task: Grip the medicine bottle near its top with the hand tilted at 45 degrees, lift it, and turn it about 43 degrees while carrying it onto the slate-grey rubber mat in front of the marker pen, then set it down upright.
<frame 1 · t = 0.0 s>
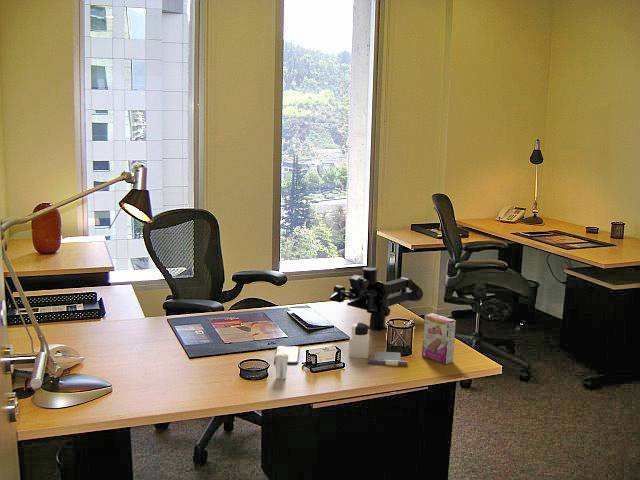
hand: (338, 301, 275), 17 cm above the table, tool horizontal, fingers open, 9 cm apart
phone case: (287, 358, 261), on the table
medicine bottle: (358, 355, 265), on the table
marker pen: (387, 364, 256), on the table
candy bar box: (437, 360, 262), on the table
slate mat: (387, 357, 263), on the table
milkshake: (279, 378, 241), on the table
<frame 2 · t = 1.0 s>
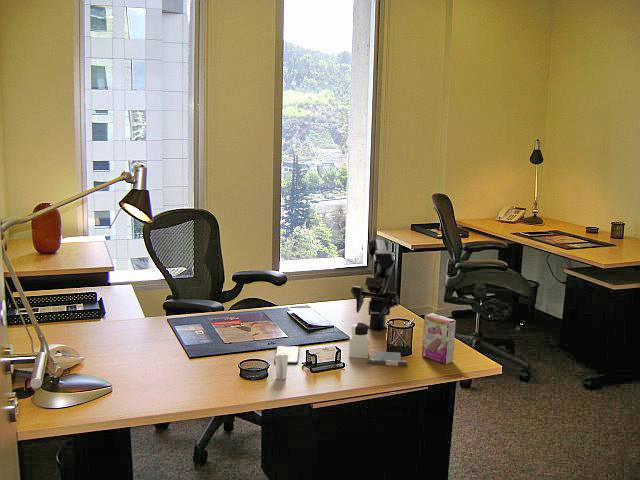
hand: (368, 314, 269), 14 cm above the table, tool tilted 45°, fingers open, 9 cm apart
nothing on the table moved.
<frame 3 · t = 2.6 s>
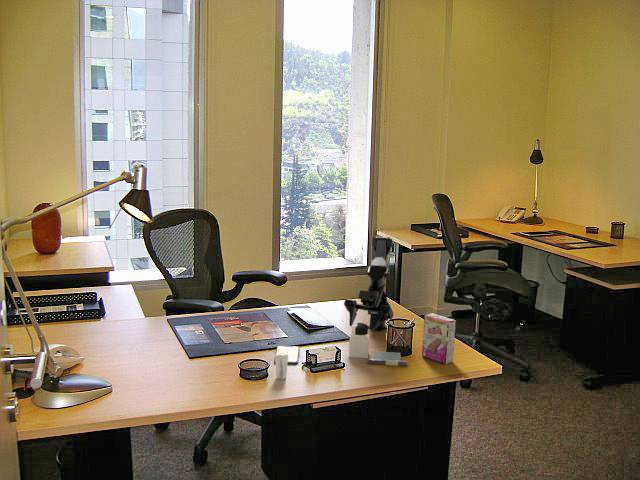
hand: (361, 328, 264), 10 cm above the table, tool tilted 45°, fingers open, 9 cm apart
nothing on the table moved.
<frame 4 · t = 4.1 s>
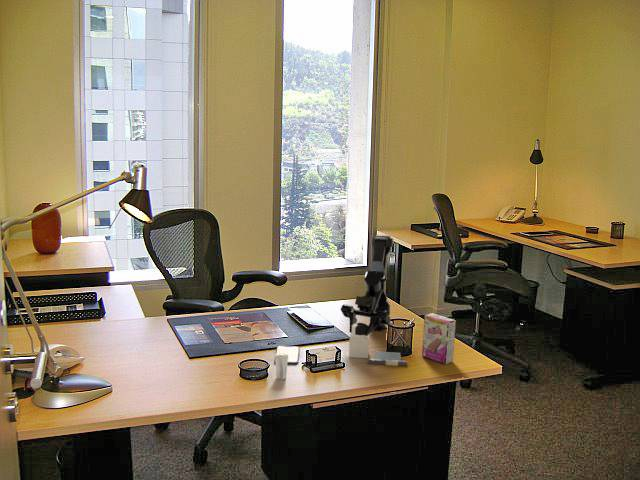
hand: (358, 333, 262), 9 cm above the table, tool tilted 45°, fingers closed on medicine bottle, 6 cm apart
medicine bottle: (358, 355, 265), on the table, touching gripper
everything else where it was.
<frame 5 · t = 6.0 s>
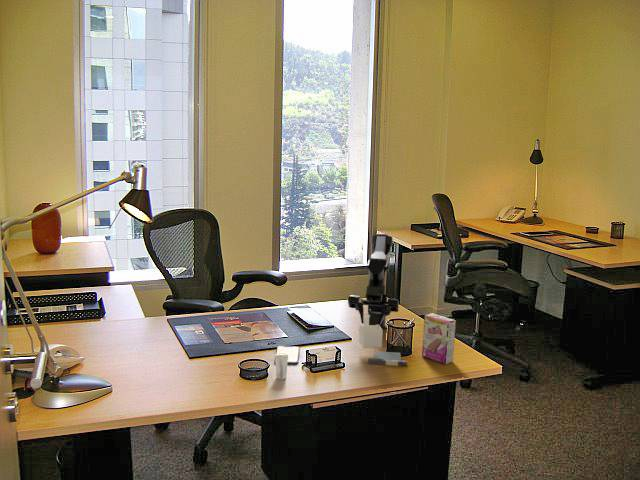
hand: (370, 324, 260), 13 cm above the table, tool tilted 45°, fingers closed on medicine bottle, 6 cm apart
medicine bottle: (370, 345, 263), point 4 cm above the table, touching gripper
everything else where it was.
when the fingers open (10 cm above the table, at t = 8.2 s): medicine bottle stays where it is, resting on slate mat.
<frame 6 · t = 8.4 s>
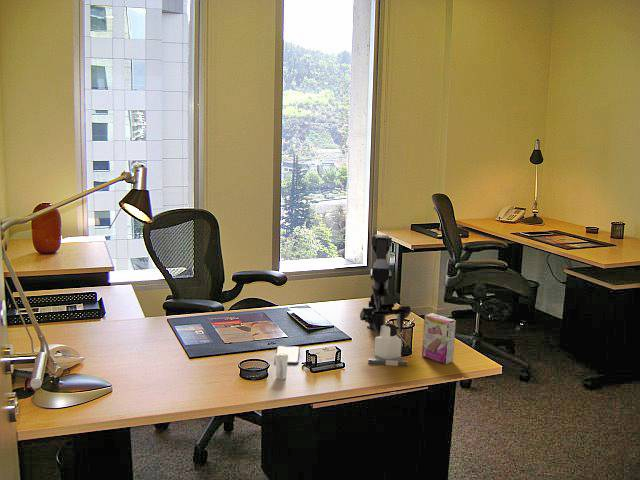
hand: (390, 333, 260), 10 cm above the table, tool tilted 45°, fingers open, 8 cm apart
medicine bottle: (387, 356, 263), resting on slate mat
everything else where it was.
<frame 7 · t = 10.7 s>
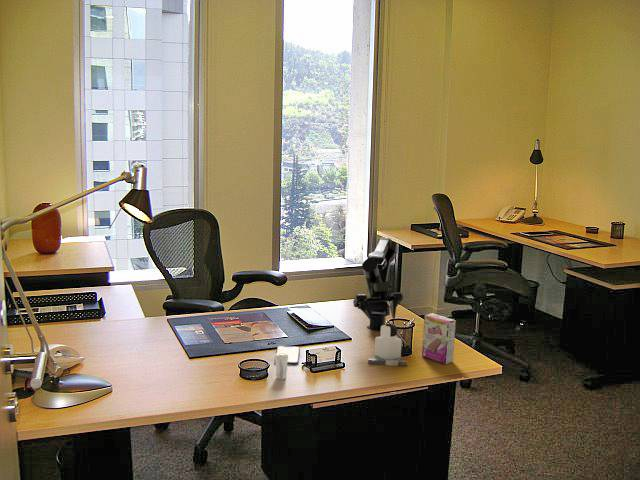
hand: (382, 319, 267), 12 cm above the table, tool tilted 45°, fingers open, 9 cm apart
nothing on the table moved.
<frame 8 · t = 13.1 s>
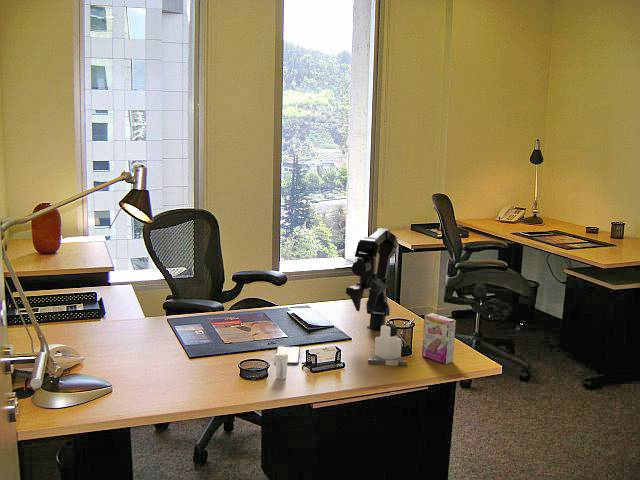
hand: (365, 308, 278), 13 cm above the table, tool pointing down, fingers open, 9 cm apart
nothing on the table moved.
at the end: medicine bottle 0.2 cm from the slate mat (horizontally); medicine bottle tilted 0°; the gripper is holding nothing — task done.
